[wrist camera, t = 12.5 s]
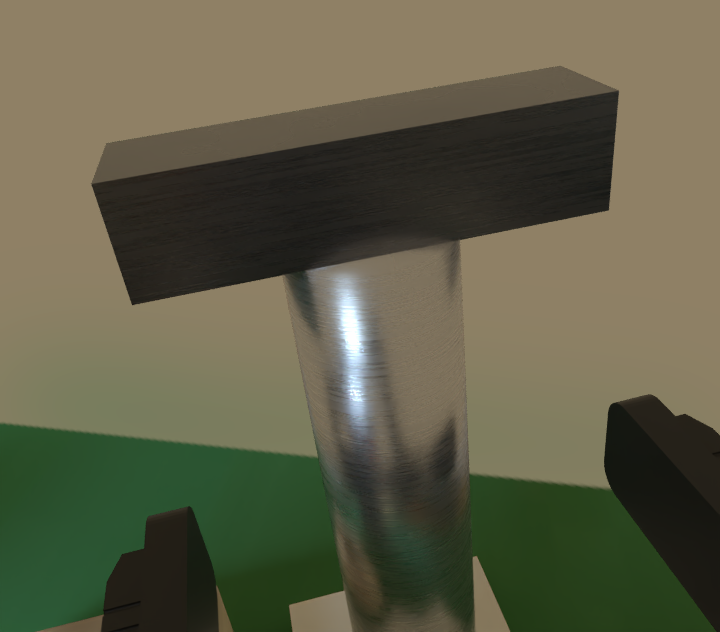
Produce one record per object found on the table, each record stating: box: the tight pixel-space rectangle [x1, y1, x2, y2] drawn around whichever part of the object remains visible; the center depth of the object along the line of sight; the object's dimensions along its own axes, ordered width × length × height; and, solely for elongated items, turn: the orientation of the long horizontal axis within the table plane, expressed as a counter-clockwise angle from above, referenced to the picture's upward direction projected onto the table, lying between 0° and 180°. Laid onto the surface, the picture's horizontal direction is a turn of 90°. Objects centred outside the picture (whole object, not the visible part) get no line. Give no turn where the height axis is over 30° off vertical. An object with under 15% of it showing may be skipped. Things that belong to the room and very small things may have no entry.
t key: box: [92, 66, 619, 632], centre depth 16 cm, size 8×3×18 cm, turn 102°
